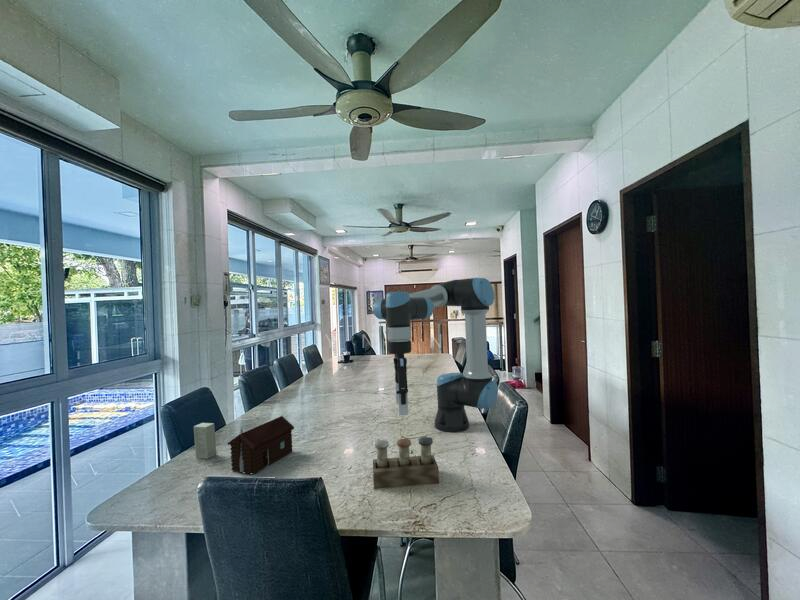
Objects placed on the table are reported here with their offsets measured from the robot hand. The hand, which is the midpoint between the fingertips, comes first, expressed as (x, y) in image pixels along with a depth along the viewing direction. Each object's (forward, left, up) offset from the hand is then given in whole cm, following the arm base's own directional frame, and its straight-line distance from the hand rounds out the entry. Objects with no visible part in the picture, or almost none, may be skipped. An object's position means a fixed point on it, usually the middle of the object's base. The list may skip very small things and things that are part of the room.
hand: (401, 408), depth 115 cm
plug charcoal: (-7, 0, -18) cm, 20 cm away
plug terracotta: (0, 0, -18) cm, 18 cm away
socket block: (0, 0, -22) cm, 22 cm away
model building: (+50, -22, -23) cm, 59 cm away
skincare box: (+74, -30, -23) cm, 83 cm away
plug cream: (+7, 0, -18) cm, 20 cm away
